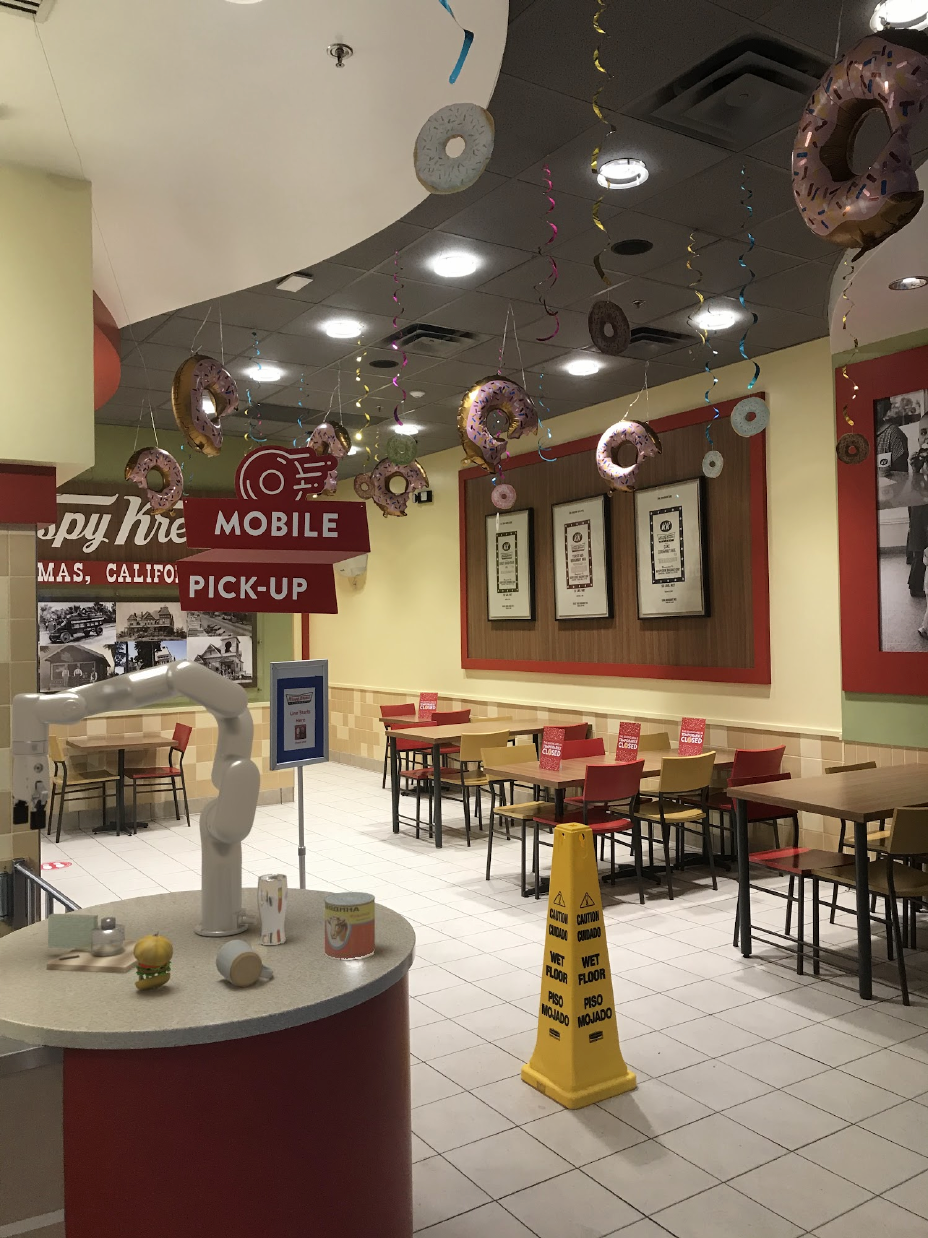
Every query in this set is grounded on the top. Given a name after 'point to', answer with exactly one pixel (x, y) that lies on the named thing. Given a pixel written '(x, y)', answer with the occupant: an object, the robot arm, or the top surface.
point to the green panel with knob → (86, 933)
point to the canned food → (349, 924)
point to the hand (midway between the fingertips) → (29, 826)
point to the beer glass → (272, 907)
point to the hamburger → (153, 961)
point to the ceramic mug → (241, 964)
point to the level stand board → (96, 960)
